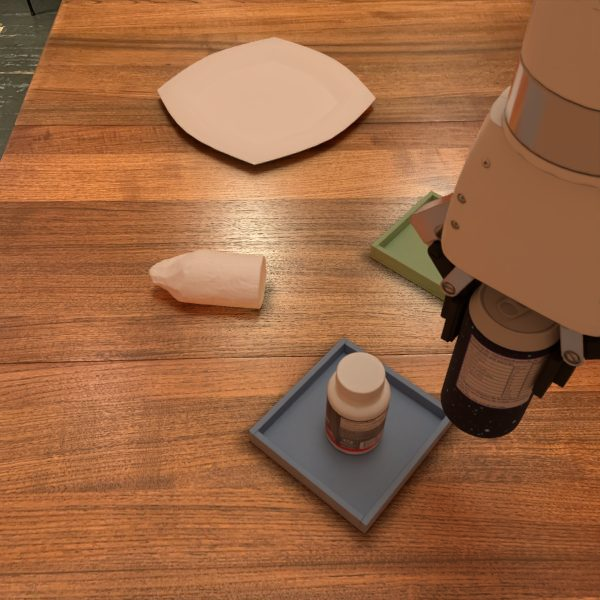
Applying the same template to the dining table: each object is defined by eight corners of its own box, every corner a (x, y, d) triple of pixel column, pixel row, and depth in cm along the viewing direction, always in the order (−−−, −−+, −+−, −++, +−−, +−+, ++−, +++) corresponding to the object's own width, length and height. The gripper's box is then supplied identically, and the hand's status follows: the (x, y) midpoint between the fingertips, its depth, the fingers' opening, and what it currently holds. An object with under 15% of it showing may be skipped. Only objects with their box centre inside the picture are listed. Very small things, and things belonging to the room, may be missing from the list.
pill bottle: (324, 403, 62) (327, 343, 55) (380, 404, 62) (392, 344, 55) (324, 456, 59) (328, 400, 51) (384, 457, 59) (397, 401, 51)
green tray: (517, 248, 76) (521, 237, 74) (461, 311, 70) (464, 300, 68) (428, 201, 81) (431, 190, 79) (369, 256, 75) (371, 245, 73)
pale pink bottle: (161, 269, 73) (152, 233, 69) (267, 277, 73) (265, 242, 68) (148, 311, 70) (138, 276, 65) (259, 320, 69) (257, 285, 65)
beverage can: (536, 420, 46) (595, 313, 37) (474, 459, 44) (519, 356, 35) (482, 363, 49) (524, 251, 40) (422, 396, 47) (451, 287, 38)
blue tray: (453, 422, 61) (456, 412, 60) (364, 534, 55) (366, 526, 53) (342, 347, 67) (343, 336, 65) (249, 440, 60) (248, 430, 59)
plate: (134, 100, 94) (131, 88, 93) (277, 36, 106) (277, 24, 104) (251, 194, 81) (251, 182, 80) (400, 110, 93) (401, 98, 91)
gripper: (850, 142, 26) (658, 389, 40) (467, 7, 33) (418, 257, 47) (798, 247, 22) (606, 479, 36) (380, 70, 29) (355, 320, 43)
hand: (501, 351), depth 41 cm, fingers closed on beverage can, 5 cm apart
